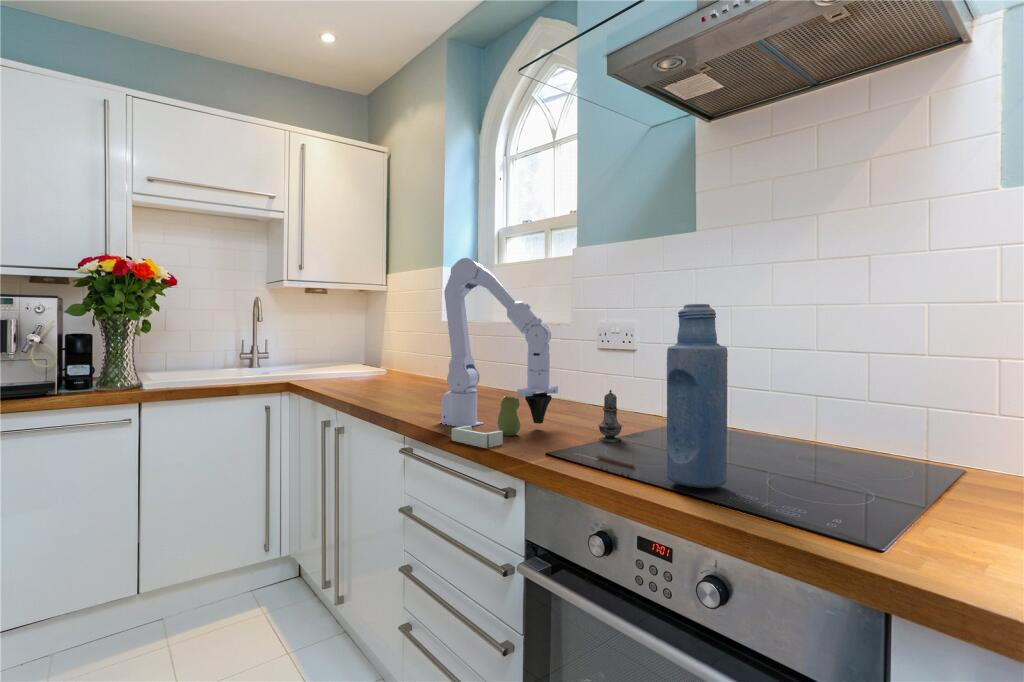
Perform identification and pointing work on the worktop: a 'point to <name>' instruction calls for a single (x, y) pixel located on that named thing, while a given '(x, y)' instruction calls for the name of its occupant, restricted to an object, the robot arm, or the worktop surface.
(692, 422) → the bottle
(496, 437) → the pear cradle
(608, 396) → the salt shaker
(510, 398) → the pear
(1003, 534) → the worktop surface
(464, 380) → the robot arm
